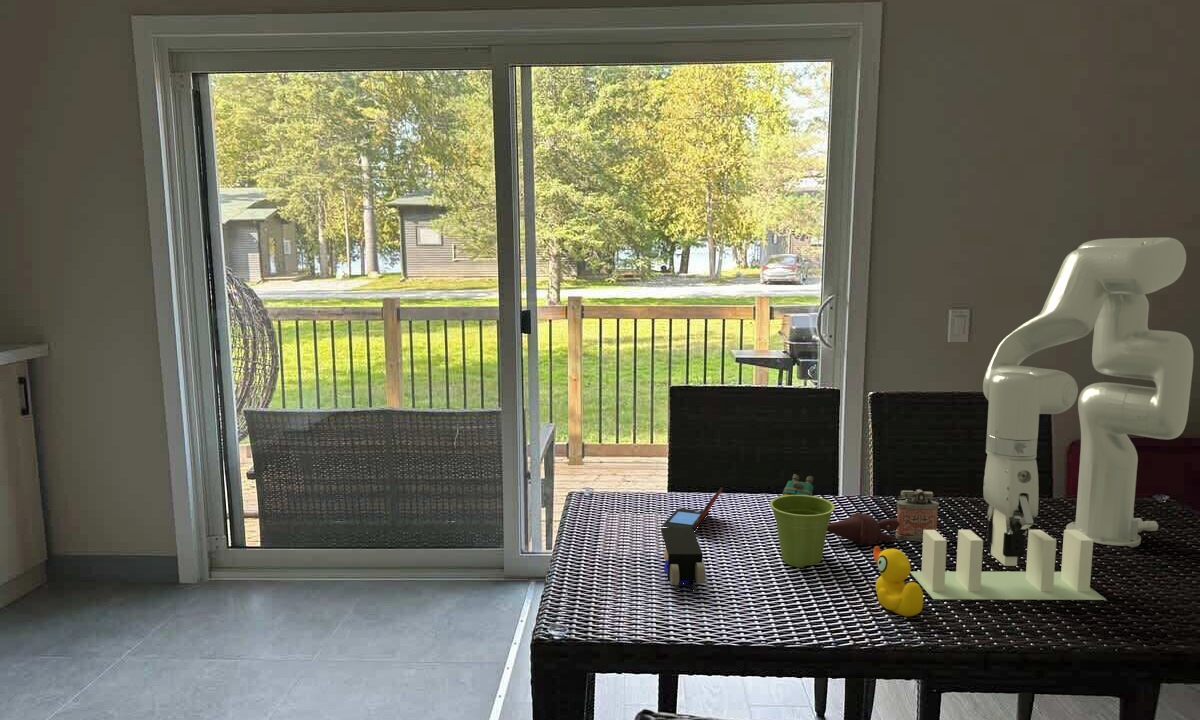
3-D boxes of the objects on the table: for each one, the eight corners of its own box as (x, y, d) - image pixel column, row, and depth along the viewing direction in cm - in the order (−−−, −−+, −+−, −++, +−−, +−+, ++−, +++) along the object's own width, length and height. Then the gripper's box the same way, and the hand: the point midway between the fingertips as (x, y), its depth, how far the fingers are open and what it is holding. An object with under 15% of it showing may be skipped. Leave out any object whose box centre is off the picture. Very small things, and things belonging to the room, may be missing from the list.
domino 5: (1072, 578, 131) (1075, 529, 130) (1089, 591, 126) (1093, 540, 125) (1060, 578, 131) (1064, 529, 130) (1077, 591, 127) (1081, 540, 125)
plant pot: (772, 546, 151) (773, 492, 149) (834, 553, 147) (836, 497, 145) (765, 569, 140) (766, 511, 138) (831, 577, 136) (833, 517, 134)
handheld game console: (677, 512, 172) (677, 481, 171) (723, 518, 168) (723, 485, 167) (660, 531, 161) (659, 497, 160) (709, 537, 157) (709, 503, 156)
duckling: (859, 597, 128) (861, 541, 126) (887, 593, 129) (889, 537, 128) (902, 628, 117) (904, 567, 115) (931, 623, 118) (934, 563, 117)
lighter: (933, 534, 155) (935, 488, 154) (939, 541, 152) (941, 493, 150) (893, 534, 156) (895, 487, 154) (898, 540, 152) (900, 492, 151)
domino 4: (1037, 578, 132) (1040, 529, 130) (1052, 591, 127) (1056, 540, 125) (1025, 578, 132) (1028, 529, 131) (1040, 591, 127) (1044, 540, 126)
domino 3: (1002, 554, 131) (1005, 504, 130) (1016, 565, 126) (1020, 514, 125) (990, 554, 131) (993, 504, 130) (1004, 565, 126) (1007, 514, 125)
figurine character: (708, 603, 130) (692, 559, 144) (709, 564, 128) (693, 523, 142) (669, 605, 129) (657, 561, 144) (670, 565, 127) (658, 524, 142)
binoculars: (777, 525, 168) (770, 497, 162) (788, 495, 173) (781, 466, 168) (818, 532, 163) (812, 503, 157) (828, 501, 169) (822, 472, 163)
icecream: (829, 523, 145) (907, 528, 145) (820, 502, 152) (894, 507, 152) (823, 553, 148) (899, 558, 148) (814, 530, 154) (887, 535, 155)
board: (1068, 575, 134) (1068, 571, 134) (1106, 604, 124) (1106, 599, 123) (909, 575, 136) (909, 571, 136) (933, 603, 125) (933, 598, 125)
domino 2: (967, 578, 132) (969, 529, 131) (980, 591, 127) (983, 540, 126) (955, 578, 132) (958, 529, 131) (968, 591, 127) (970, 540, 126)
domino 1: (932, 578, 133) (934, 529, 131) (944, 591, 128) (946, 540, 126) (921, 578, 133) (923, 529, 131) (932, 591, 128) (934, 540, 126)
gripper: (1062, 459, 117) (1054, 570, 120) (1009, 434, 134) (1003, 532, 137) (1013, 459, 118) (1006, 569, 120) (966, 434, 135) (960, 531, 137)
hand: (1004, 548), depth 128 cm, fingers closed on domino 3, 4 cm apart
